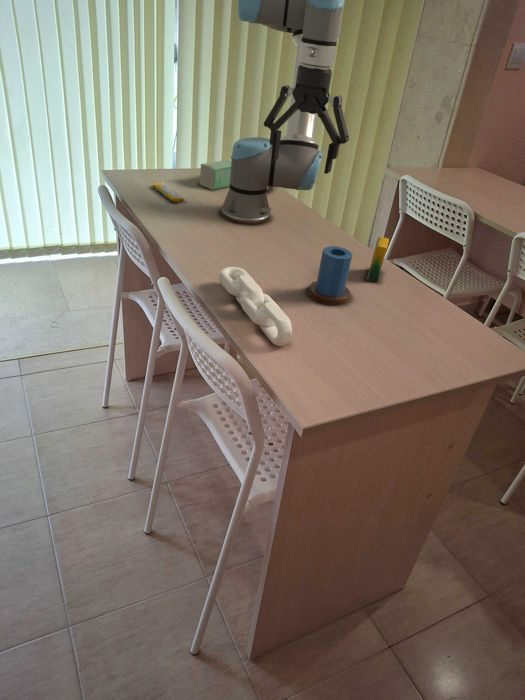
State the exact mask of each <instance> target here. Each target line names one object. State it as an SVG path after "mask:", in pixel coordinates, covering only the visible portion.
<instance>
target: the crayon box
mask: <svg viewBox="0 0 525 700" xmlns="http://www.w3.org/2000/svg"><path fill="white" fill-rule="evenodd" d="M380 234H381V229H380V230H379V233H378V236H377V239H376V243H375V247H374V251H373V255H372V259H371V264H370V267H369V270H368V274H367V278H366V280H367V281H370V282H374V283H378V282H379V278H380V275H381V271H382V268H383V264H384V259H385V256H386V253H387V249H388V245H389V242H390V239H389V238H388V237H383V236H380Z"/></svg>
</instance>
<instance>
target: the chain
mask: <svg viewBox="0 0 525 700" xmlns="http://www.w3.org/2000/svg"><path fill="white" fill-rule="evenodd" d="M218 281H219V282H220V284H221V285H222V286H223V288H224V289H225V290H226V291H227V292H228V293H229V294H230V295H232V296H234V297H235V300H236V301H237V303H238V304H239V305H240V306H241V308H242V310H243V312H244V313H245V314H246V315H247V316H248V317H249V318H250V320H251V321H252V322H253V323H254V324H256V325H259V327H260V329H261V331H262V332H263V333H264V335H265V336H266V337H267V338H268V339H269V341H270V342H272V344H273V345H274V346H277V347H283V346H286V345H288V344H289V343H290V341H291V339H292V336H293V326H292V322H291V319H290V317H289V316H288V315H287V314H286V313H285V312H284V311H283V309H282V308H281V307H280V306H279V305H278V304H277V303H276V302H275V301H274V300H273V298H272V297H270V295H268V294H266V293H264V292H263V289H262V288H261V286H259V284H258V283H257V282H256V281H255V279H254V278H252V276H251V275H250V274H249V273H248V272H247V271H246V269H244V268H241V267H238V266H228V267H224V268H222V269H221V270H220V272H219V273H218Z"/></svg>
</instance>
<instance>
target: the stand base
mask: <svg viewBox="0 0 525 700" xmlns="http://www.w3.org/2000/svg"><path fill="white" fill-rule="evenodd" d="M316 284H317V280H315V281H313V282H311V284H310V285H309V288H308V294H309V296H310V297H311V299H313V300H314V301H316V302H318V303H320V304H323V305H329V306H340V305H344V304H347V302H349V300H350V295H351V291H350V289H349V288H348V287H347V286H345V290H344V293H343V294H342V295H341V296H337V297H334V296H327V295H323V294H321V293H320V292H318V291H317V289H316Z"/></svg>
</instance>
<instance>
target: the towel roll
mask: <svg viewBox="0 0 525 700" xmlns="http://www.w3.org/2000/svg"><path fill="white" fill-rule="evenodd" d="M334 254H339V255H340V256H337V255H334ZM352 258H353V253H352V252H351V250H349V249H347V248H345V247H341V246H338V245H337V246H335V245H334V246H333V245H330V246H325V247H324V248H323V249H322V253H321V258H320V263H319V269H318V275H317V280H316V281H317V284H316V289H317V291H318V292H320V293H321V294H323V295H327V296H334V297H337V296H341V295H342V294H343V293H344V290H345V286H346V285H347V281H348V277H349V272H350V268H351V264H352V260H353V259H352ZM346 287H347V286H346Z"/></svg>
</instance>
